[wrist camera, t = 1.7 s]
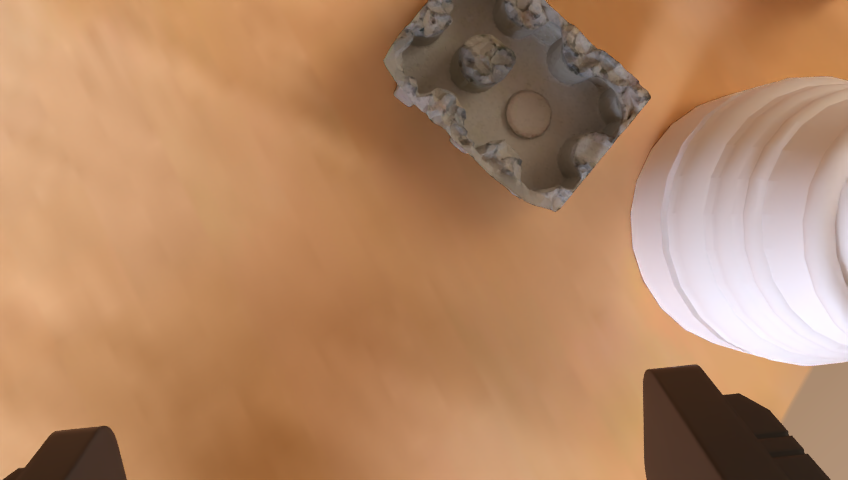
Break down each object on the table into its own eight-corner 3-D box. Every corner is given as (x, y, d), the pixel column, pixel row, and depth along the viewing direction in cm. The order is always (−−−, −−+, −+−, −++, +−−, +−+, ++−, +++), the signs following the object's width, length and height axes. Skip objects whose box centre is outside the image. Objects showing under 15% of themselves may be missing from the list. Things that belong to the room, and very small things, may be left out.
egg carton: (626, 112, 38) (666, 100, 34) (527, 227, 38) (555, 228, 34) (468, -44, 37) (490, -75, 33) (362, 73, 36) (371, 55, 32)
